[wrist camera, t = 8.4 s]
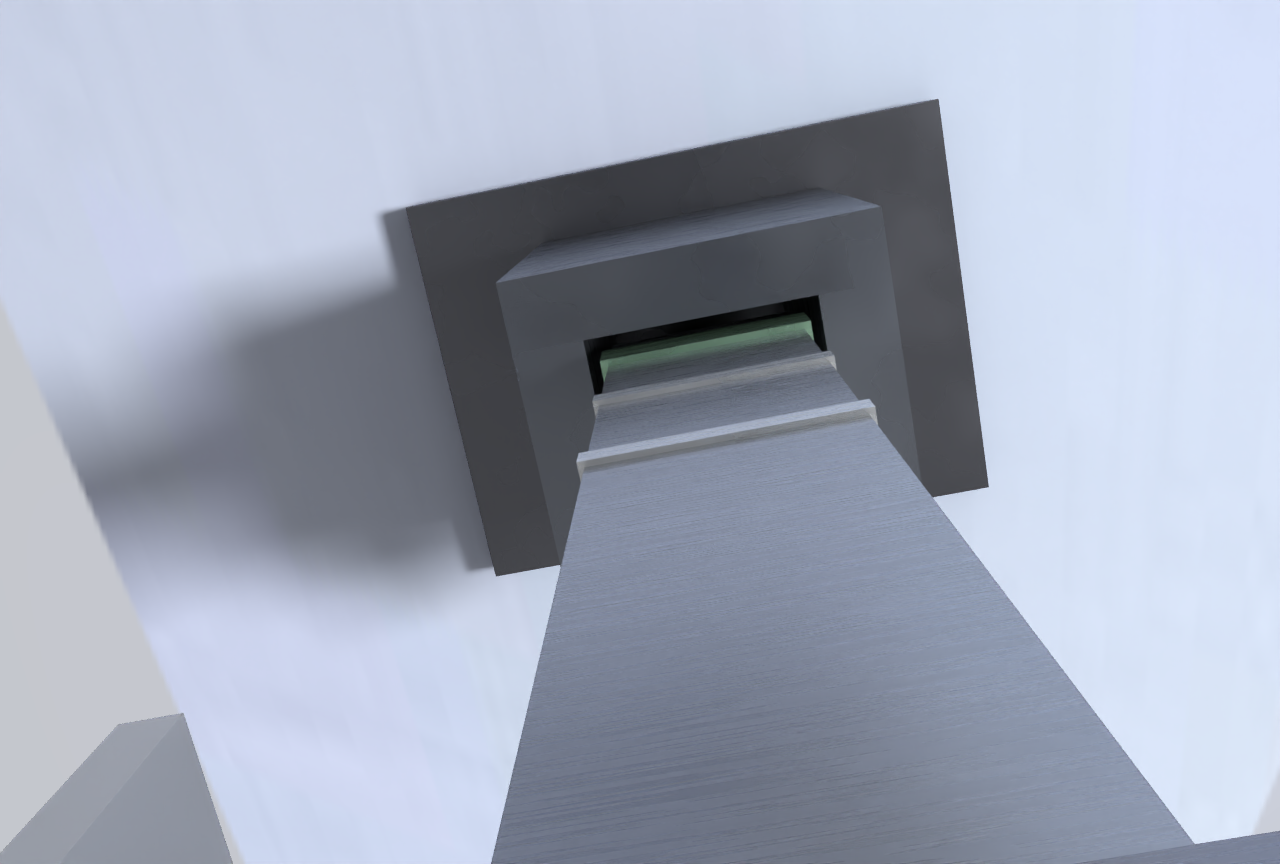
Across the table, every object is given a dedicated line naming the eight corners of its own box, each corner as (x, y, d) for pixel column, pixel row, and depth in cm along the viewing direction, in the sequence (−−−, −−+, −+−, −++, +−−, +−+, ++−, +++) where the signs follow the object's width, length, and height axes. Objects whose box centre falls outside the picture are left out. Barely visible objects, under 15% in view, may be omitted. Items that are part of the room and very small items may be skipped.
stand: (412, 205, 35) (301, 235, 24) (930, 100, 34) (1056, 81, 23) (500, 565, 38) (436, 734, 27) (980, 477, 37) (1112, 618, 26)
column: (597, 335, 27) (339, 1123, 5) (801, 295, 26) (1405, 965, 5) (637, 526, 28) (561, 1808, 6) (834, 491, 27) (1435, 1718, 6)
